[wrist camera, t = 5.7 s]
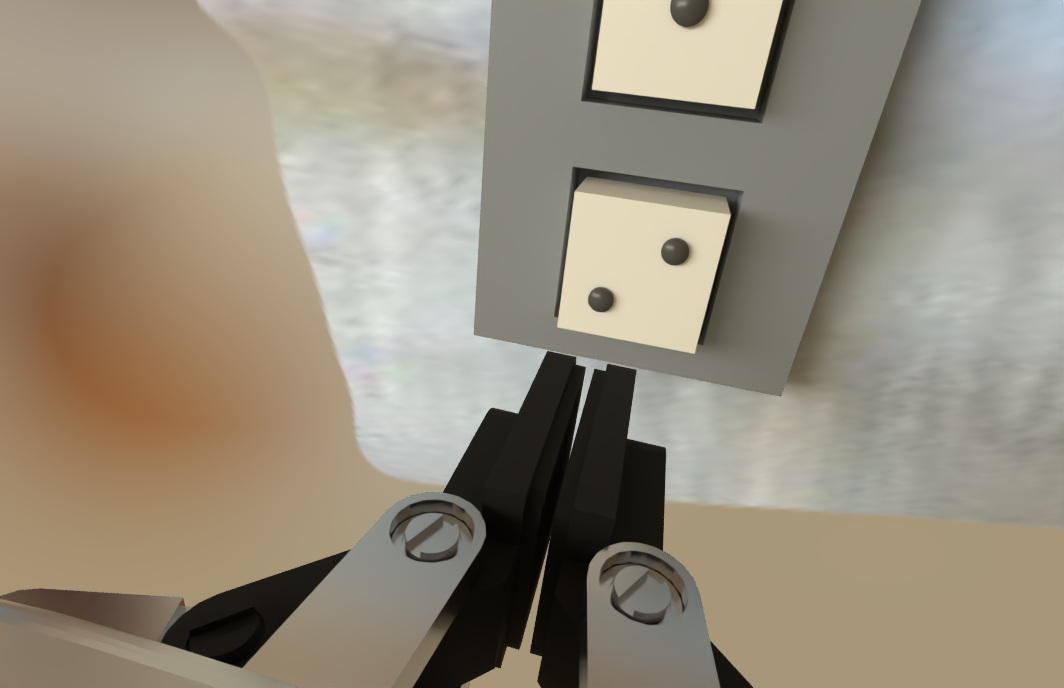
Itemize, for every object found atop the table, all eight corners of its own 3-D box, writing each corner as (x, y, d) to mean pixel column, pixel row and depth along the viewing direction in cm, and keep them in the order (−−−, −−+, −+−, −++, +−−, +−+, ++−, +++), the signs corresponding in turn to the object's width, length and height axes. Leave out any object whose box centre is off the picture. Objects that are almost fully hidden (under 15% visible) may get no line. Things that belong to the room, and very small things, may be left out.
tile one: (791, -75, 19) (808, -97, 17) (746, 103, 22) (755, 109, 19) (626, -86, 20) (617, -109, 18) (602, 85, 23) (591, 89, 20)
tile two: (725, 196, 23) (731, 216, 20) (693, 323, 25) (694, 356, 23) (587, 176, 24) (573, 192, 21) (570, 300, 26) (556, 329, 24)
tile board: (1108, -619, 14) (1185, -744, 12) (773, 369, 27) (780, 396, 25) (549, -576, 16) (528, -673, 14) (489, 314, 29) (473, 334, 27)
